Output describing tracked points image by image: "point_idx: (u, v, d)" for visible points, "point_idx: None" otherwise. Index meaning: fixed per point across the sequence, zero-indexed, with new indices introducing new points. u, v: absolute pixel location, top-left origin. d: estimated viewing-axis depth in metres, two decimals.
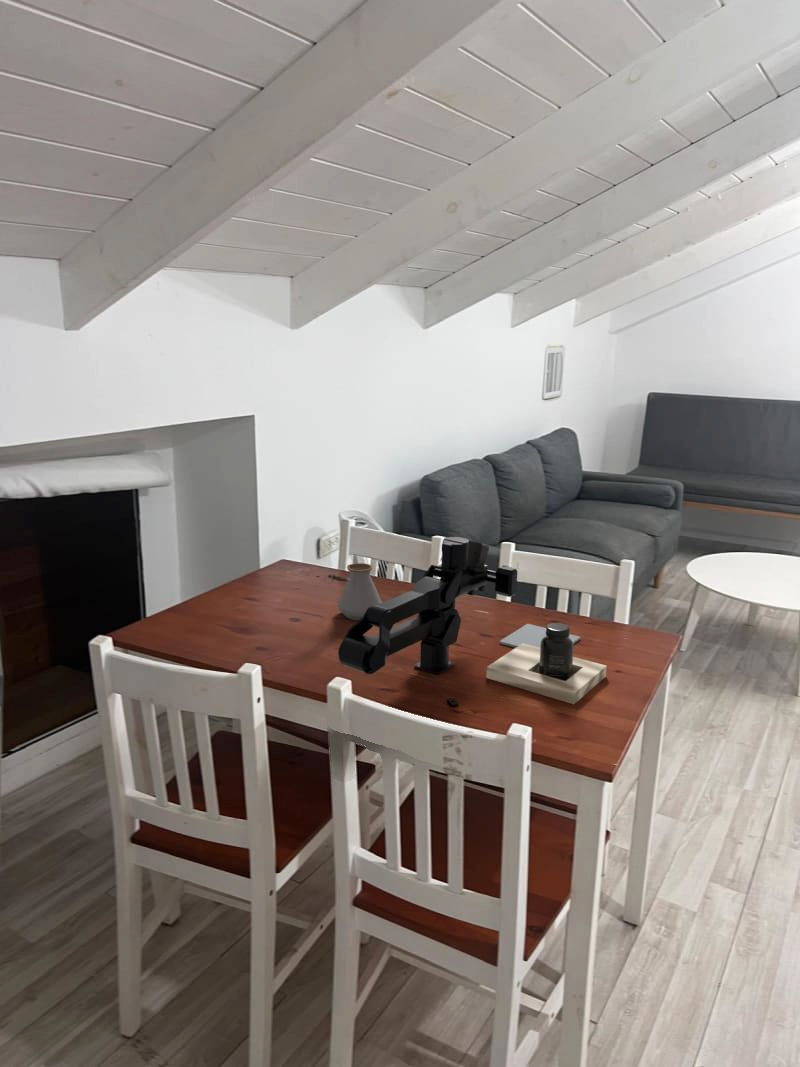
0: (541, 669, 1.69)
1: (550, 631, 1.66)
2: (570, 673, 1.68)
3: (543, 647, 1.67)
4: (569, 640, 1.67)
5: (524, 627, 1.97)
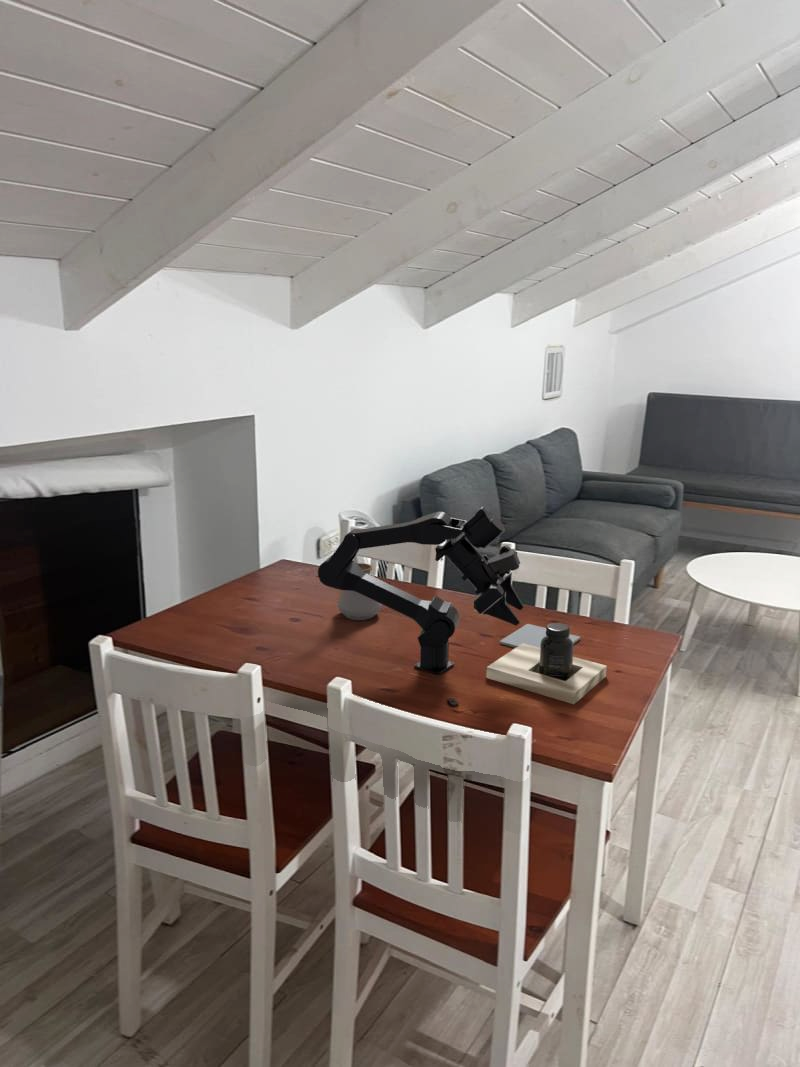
0: (541, 669, 1.69)
1: (550, 631, 1.66)
2: (570, 673, 1.68)
3: (543, 647, 1.67)
4: (569, 640, 1.67)
5: (524, 627, 1.97)
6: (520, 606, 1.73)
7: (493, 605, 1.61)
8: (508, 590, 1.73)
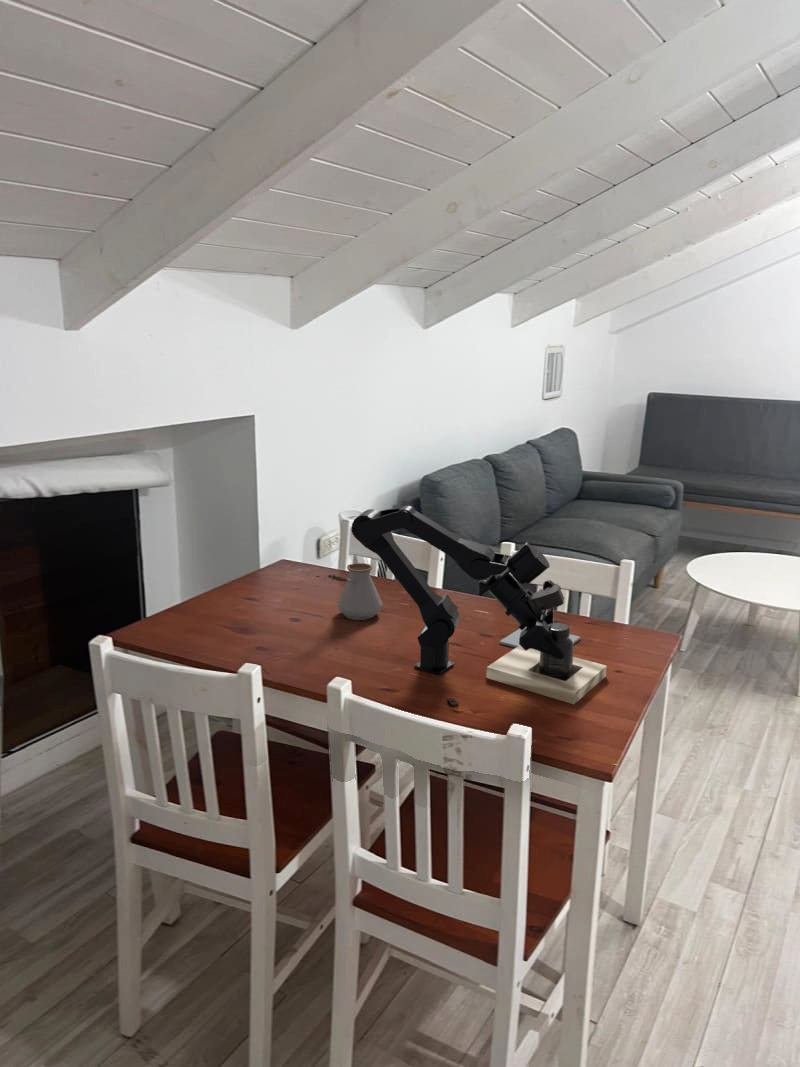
0: (541, 669, 1.69)
1: None
2: (570, 673, 1.68)
3: None
4: (569, 640, 1.67)
5: None
6: None
7: None
8: None
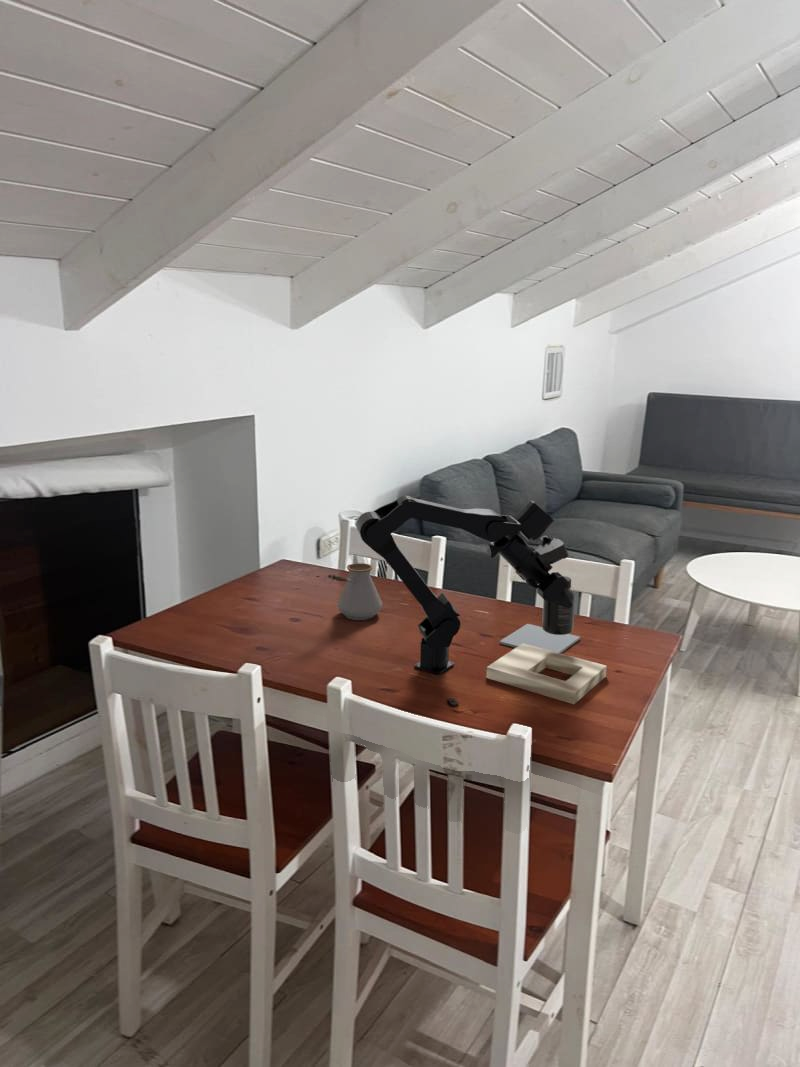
0: (548, 621, 1.76)
1: None
2: (573, 621, 1.78)
3: None
4: (571, 590, 1.77)
5: (524, 627, 1.97)
6: None
7: None
8: None
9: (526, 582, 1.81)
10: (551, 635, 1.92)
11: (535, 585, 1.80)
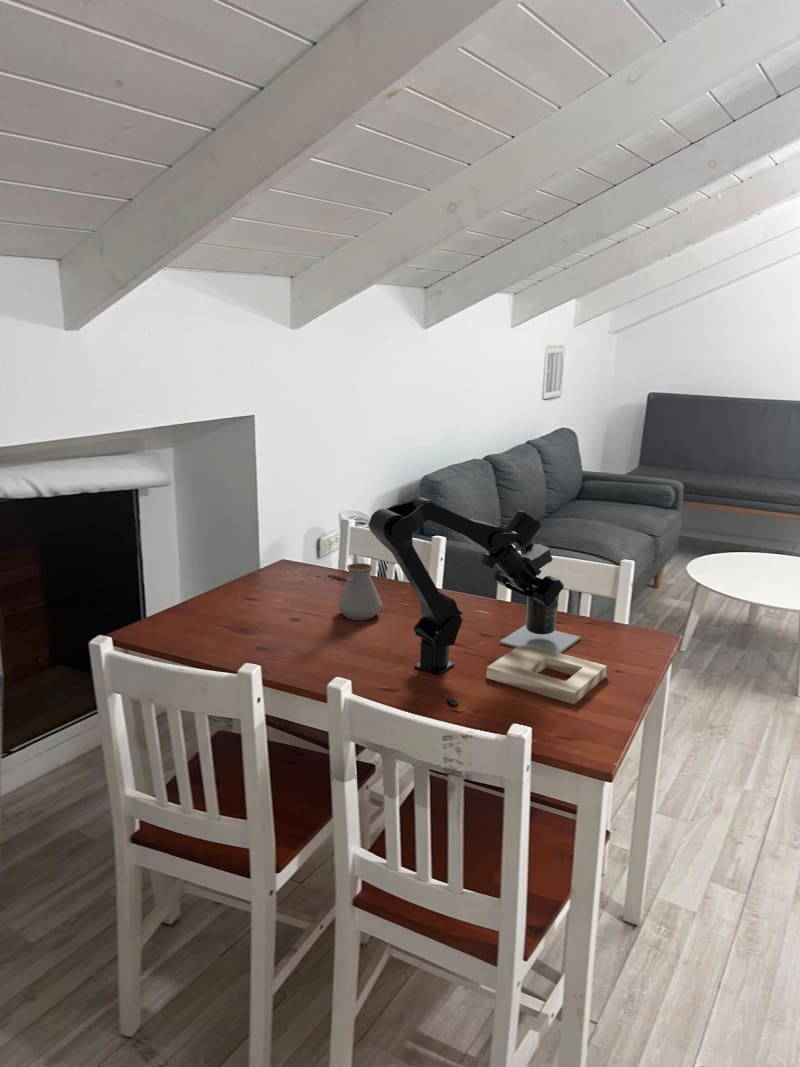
0: (536, 622, 1.86)
1: None
2: None
3: None
4: None
5: (524, 627, 1.97)
6: None
7: None
8: None
9: None
10: (551, 635, 1.92)
11: (517, 590, 1.88)
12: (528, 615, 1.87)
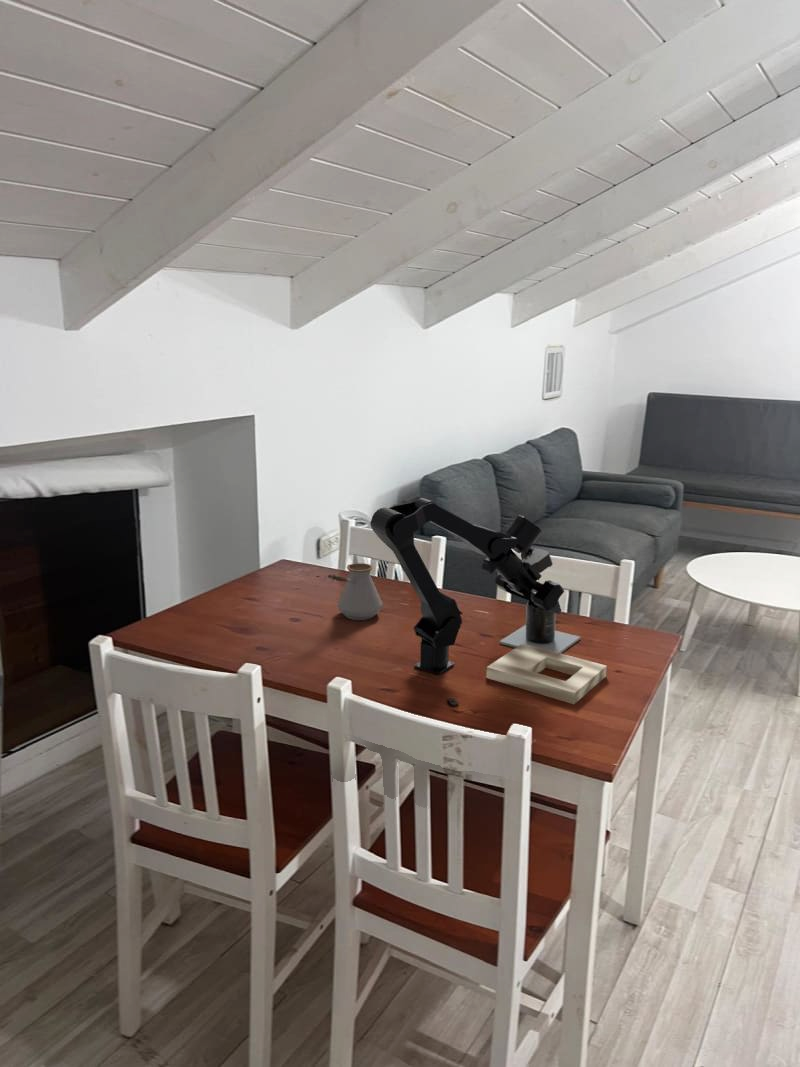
0: (536, 632, 1.87)
1: None
2: None
3: (538, 612, 1.85)
4: None
5: (524, 627, 1.97)
6: None
7: None
8: None
9: None
10: None
11: (515, 593, 1.90)
12: (528, 625, 1.88)
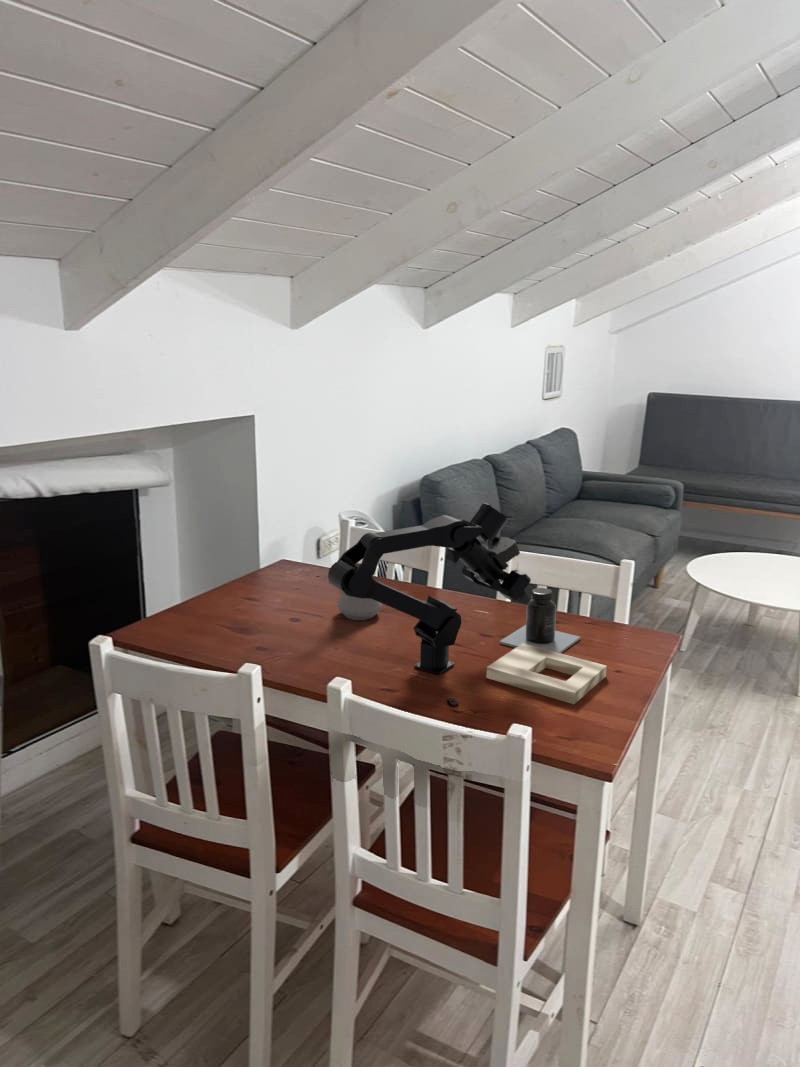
0: (536, 632, 1.87)
1: (542, 596, 1.85)
2: None
3: (538, 612, 1.85)
4: None
5: (524, 627, 1.97)
6: None
7: None
8: None
9: (472, 581, 1.85)
10: None
11: (482, 583, 1.84)
12: (528, 625, 1.88)
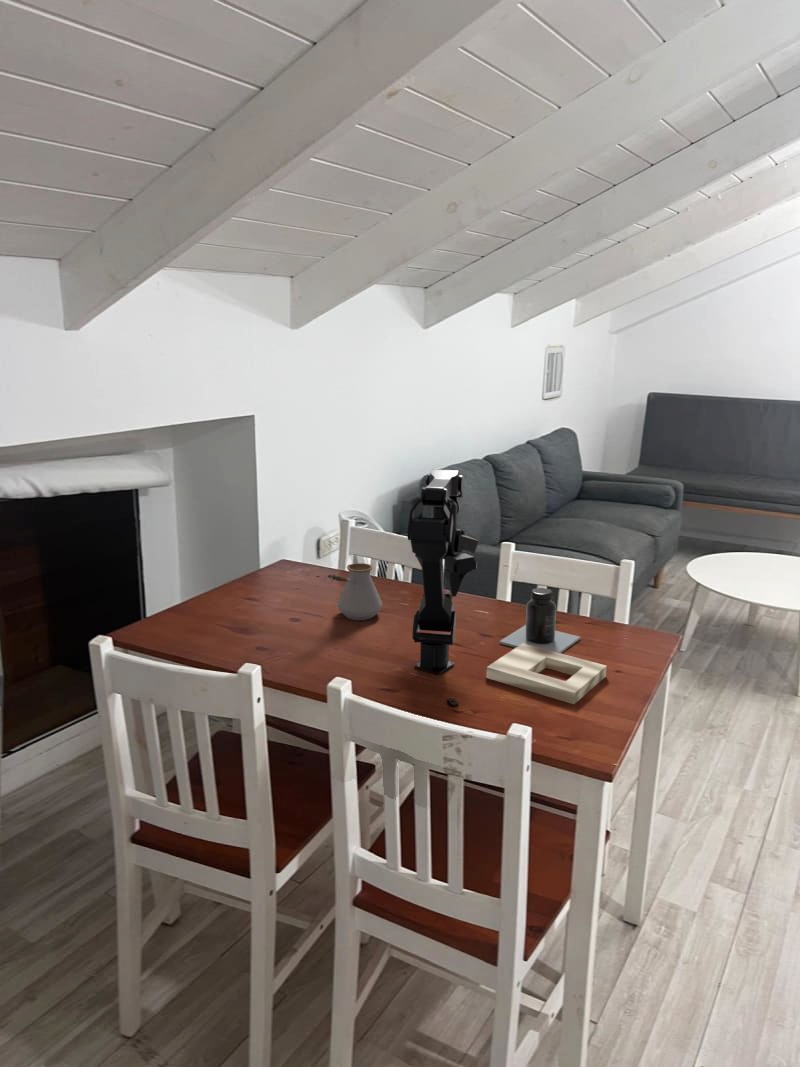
0: (536, 632, 1.87)
1: (542, 596, 1.85)
2: None
3: (538, 612, 1.85)
4: None
5: (524, 627, 1.97)
6: None
7: (463, 571, 1.77)
8: None
9: (416, 555, 1.88)
10: None
11: None
12: (528, 625, 1.88)
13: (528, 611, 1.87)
